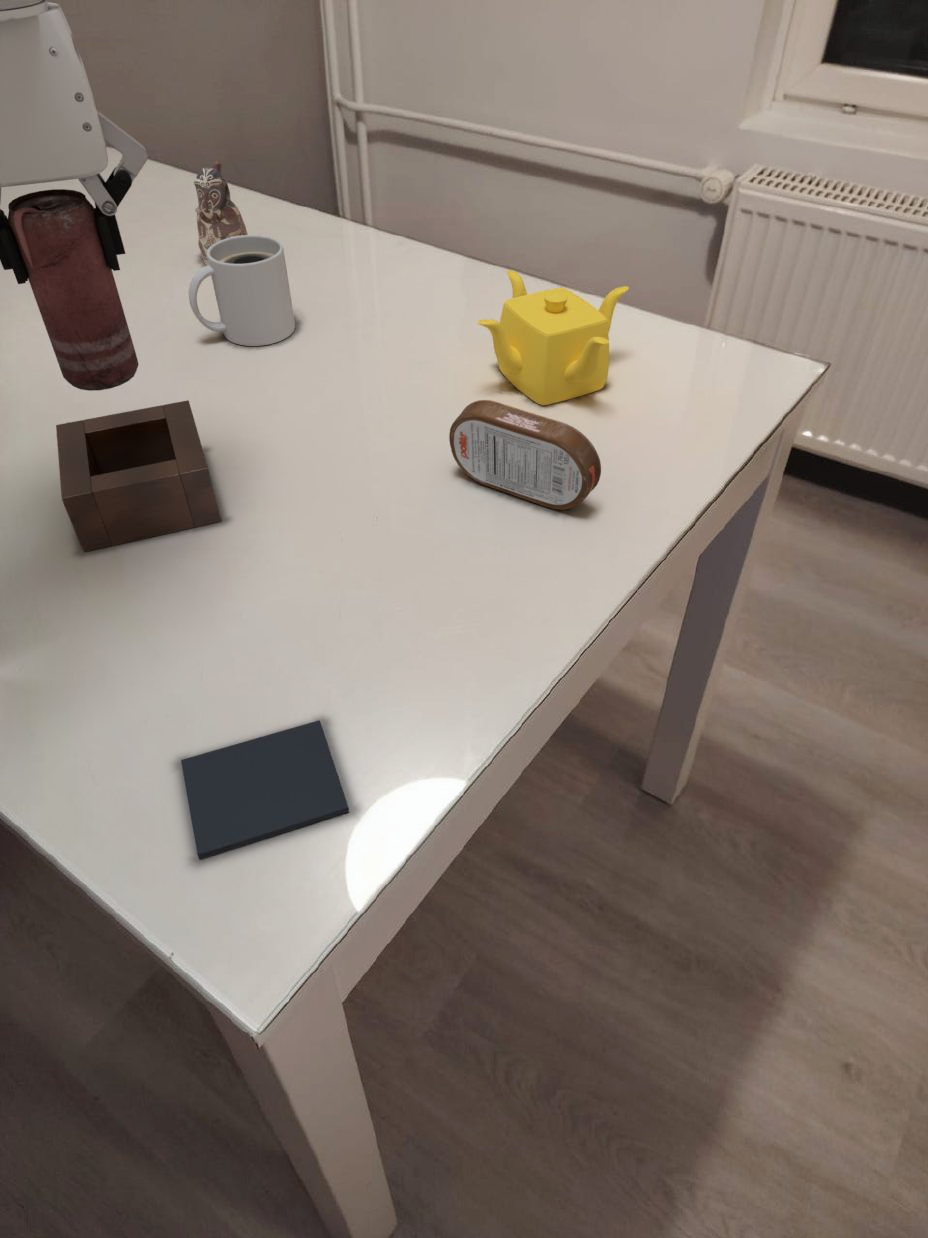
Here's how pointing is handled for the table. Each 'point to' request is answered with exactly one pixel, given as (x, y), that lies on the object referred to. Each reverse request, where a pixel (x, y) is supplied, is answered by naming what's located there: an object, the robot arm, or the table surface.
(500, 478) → the tin
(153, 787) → the table surface
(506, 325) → the teapot
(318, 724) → the mat
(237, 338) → the mug
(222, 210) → the figurine
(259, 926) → the table surface
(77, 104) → the robot arm
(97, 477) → the holder
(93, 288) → the can
